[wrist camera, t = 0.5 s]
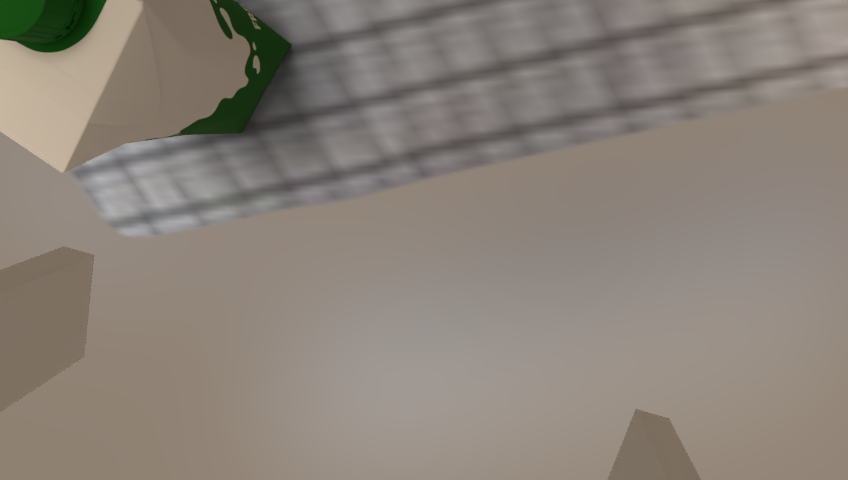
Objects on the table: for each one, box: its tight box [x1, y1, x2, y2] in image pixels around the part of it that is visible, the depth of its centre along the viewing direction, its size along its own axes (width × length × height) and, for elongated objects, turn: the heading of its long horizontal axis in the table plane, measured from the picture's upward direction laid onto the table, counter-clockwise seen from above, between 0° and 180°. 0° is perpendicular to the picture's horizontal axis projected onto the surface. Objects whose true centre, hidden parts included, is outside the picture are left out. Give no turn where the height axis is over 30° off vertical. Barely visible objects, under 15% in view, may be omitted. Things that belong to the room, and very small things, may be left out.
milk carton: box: [0, 0, 291, 173], centre depth 30 cm, size 9×9×20 cm
